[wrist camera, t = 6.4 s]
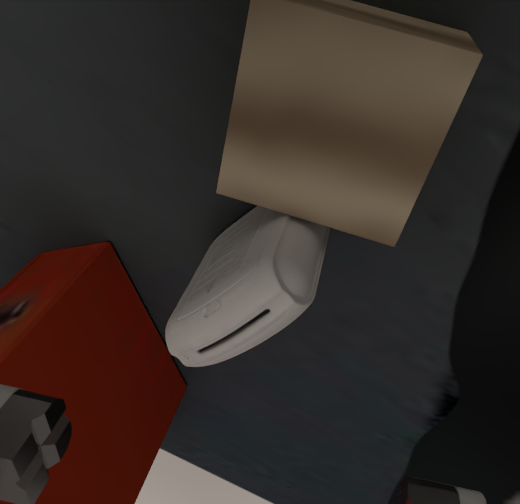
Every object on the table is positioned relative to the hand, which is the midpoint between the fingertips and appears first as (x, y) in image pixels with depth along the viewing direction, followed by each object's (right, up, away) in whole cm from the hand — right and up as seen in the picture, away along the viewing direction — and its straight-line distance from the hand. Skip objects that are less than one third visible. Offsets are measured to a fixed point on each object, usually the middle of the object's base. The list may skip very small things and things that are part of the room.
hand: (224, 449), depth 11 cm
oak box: (+6, +14, +20) cm, 25 cm away
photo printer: (+2, +6, +26) cm, 27 cm away
